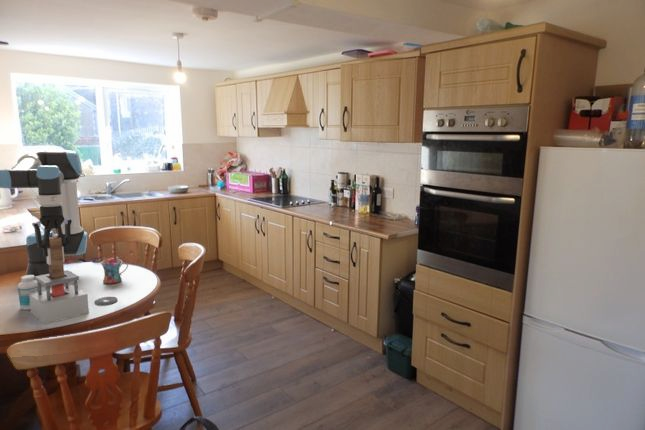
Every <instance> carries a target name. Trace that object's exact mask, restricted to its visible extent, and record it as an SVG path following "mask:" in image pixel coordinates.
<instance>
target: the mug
mask: <svg viewBox="0 0 645 430" xmlns="http://www.w3.org/2000/svg"><path fill="white" fill-rule="evenodd" d="M100 264H101V265H102V268H103V270H104V276H103V277H104V278H103V280H102V282H103V283H105V284H116V283H119V282H121V281H122V280H123V279H122V277H121V276H122V274H123V273H124V272H125V271H126V270H127V269H128V267H129V264H128V263H127V262H123V261H122V259H120V258H110V259H104V260H102V261H101V262H100ZM124 264H125V265H126V267H125V269H124V270H122V271H120V268H121V267H122V265H124Z"/></svg>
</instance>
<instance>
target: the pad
mask: <svg viewBox="0 0 645 430" xmlns="http://www.w3.org/2000/svg"><path fill="white" fill-rule="evenodd" d="M117 302H118V298H117V297H116V296H104V297H100V298H97V299H95V300H94V305H96V306H109V304H110V305H113V304H115V303H117Z"/></svg>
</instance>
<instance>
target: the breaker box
mask: <svg viewBox="0 0 645 430" xmlns="http://www.w3.org/2000/svg"><path fill="white" fill-rule="evenodd" d="M35 280H36V281H37V285H38V292H37V293H33V294H29V298H30V308H31V310H30V314H31V315H33V316H34V317H35V318H37V320H39V321H40V322H42V323H43V324H44V325H47V324H51V323H55V322H58V321H62V320H65V319H69V318H74V317H76V316H80V314H81V315H84V313H85V314H87V313H89V312H90V310H89V297H88V293H87V292H86V291H83V290H82V289H80V288H79V284H78V283H79V282H78V281H79V280H80V276H79V275H77V274H75V273H73V272H72V271H70V270H68V269H67V270H64V277H62V278H57V279H53V280H51V279H50V274H45V275H40V276H35ZM71 282H73V284H69V283H71ZM62 283H64V290H65V295H63V296H59V297H54V298H52V288H51V286H53V285H57V284H62ZM42 286H44V287H45V289H46V290H42ZM50 288H51V289H50Z"/></svg>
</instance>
